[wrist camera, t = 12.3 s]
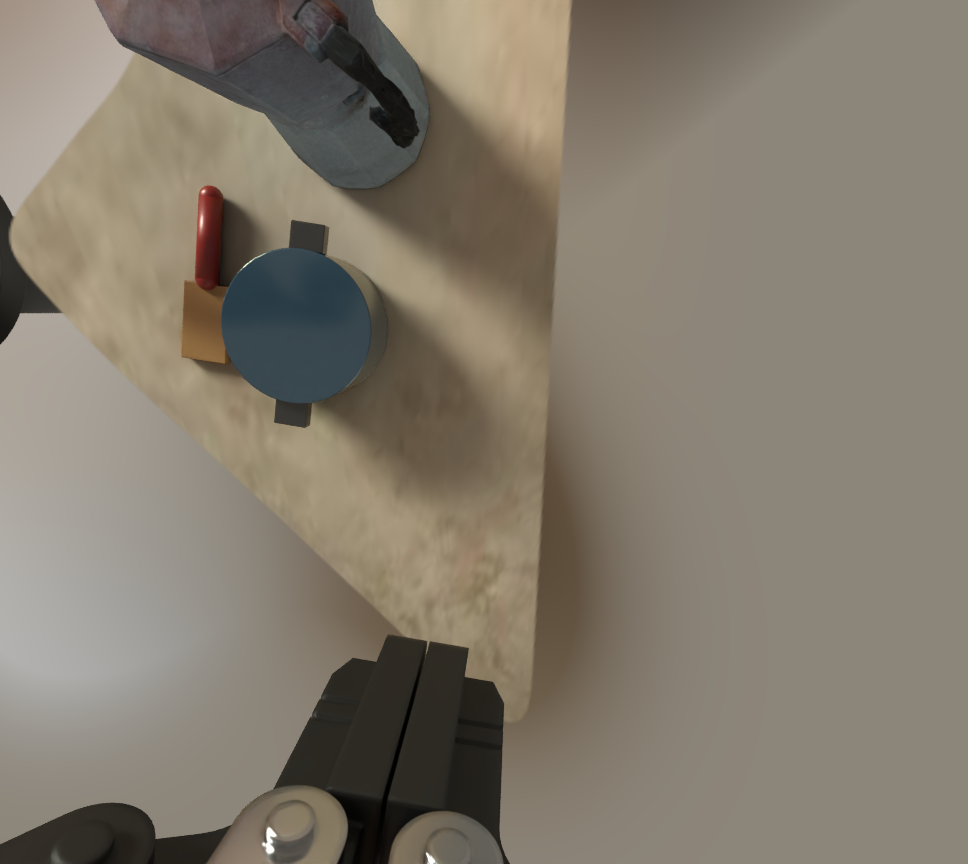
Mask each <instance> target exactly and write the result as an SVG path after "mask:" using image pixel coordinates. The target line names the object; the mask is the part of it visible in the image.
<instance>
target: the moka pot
mask: <svg viewBox="0 0 968 864" xmlns="http://www.w3.org/2000/svg"><path fill="white" fill-rule="evenodd" d="M95 2H96V4H97V6H98V8H99V10H100V12H101V14H102V16H103V18H104V20H105V21H106V23H107V26H108V27H109V29H110V31H111V32H112V34H113V35H114V37H115V38H116V39H117V41H118V42H119V43H120V44H121V45H122V46H123V47H126V48H128V49H130V50H132V51H134V52H136V53H138V54H140V55H142V56H144V57H146V58H148V59H150V60H152V61H154V62H156V63H158V64H160V65H162V66H164V67H166V68H167V69H169V70H171V71H173V72H175V73H177V74H179V75H181V76H183V77H185V78H187V79H190V80H192V81H194V82H196V83H198V84H200V85H201V86H203V87H205V88H207V89H209V90H211V91H213V92H215V93H217V94H219V95H221V96H223V97H225V98H227V99H229V100H231V101H233V102H236V103H238V104H240V105H243V106H245V107H248V108H250V109H253V110H256V111H258V112H261V113H264V114H265V115H266V116H267V117H268V119H269V120H270V121H271V123H272V124H273V125H274V127H275V128H276V129H277V131H278V132H279V133H280V134H281V136H282V137H283V138H284V140H285V141H286V142H287V144H288V145H289V146H290V147H291V149H292V150H293V152H294V153H295V154H296V155H297V156H298V158H299V159H301V160H302V161H303V162H304V163H305V164H306V165H307V166H309V167H310V168H311V169H312V170H313V171H315V172H316V173H317V174H319V175H320V176H321V177H322V178H323V179H324V180H326V181H327V182H328V183H330V184H331V185H332V186H337V187H344V188H352V189H362V188H377V187H379V186H381V185H383V184H385V183H387V182H389V181H390V180H392V179H393V178H395V177H396V176H398V175H399V174H400V173H402V172H403V171H404V170H406V169H407V168H408V167H409V166H411V165H413V164H414V163H415V161H416V160H417V157H418V155H419V152H420V150H421V148H422V144H423V142H424V139H425V135H426V132H427V128H428V122H429V117H430V108H429V103H428V99H427V95H426V91H425V88H424V84H423V81H422V77H421V74H420V70H419V67H418V65H417V63H416V62H415V61H414V59H413V58H412V57H411V56H410V55H409V53H408V52H407V51H406V50H405V48H404V47H403V46H402V45H401V44H400V42H399V41H398V40H397V39H396V37H395V36H394V35H393V34H392V32H391V31H390V30H389V29H388V28H387V27H386V26H385V24H384V23H383V22H382V21H381V20H380V18H379V17H378V16H377V15H376V12H375V9H374V5H373V1H372V0H95Z"/></svg>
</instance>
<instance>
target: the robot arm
mask: <svg viewBox="0 0 968 864" xmlns="http://www.w3.org/2000/svg"><path fill="white" fill-rule="evenodd" d="M426 650H427V641H424V640H418V639H412V638H407V637H401V636H395V635H388V636H387V638H386V640H385V642H384V645H383V648H382V650H381V652H380V655H379V657H378V660H377V662H373V661H368V660H361V659H356V658H352V659H351V660H350V661H349V662H347V663H346V664H345V665H343V666H342V667H341V668H340V669H338V670H337V671H336V672H334V673H333V674H332V676H331V678H330V680H329V682H328V684H327V686H326V688H325V689H324V692H323V693H322V696H321V699H320V700H319V701H318V703H317V705H316V707H315V709H314V711H313V714H312V717H310V719H309V721H308V723H307V725H306V727H305V729H304V730H303V732H302V734H301V737H300V738H299V740H298V742H297V744H296V746H295V748H294V750H293V752H292V754H291V756H290V758H289V760H288V762H287V764H286V766H285V768H284V769H283V772H282V774H281V775H280V777H279V779H278V781H277V783H276V785H275V787H274V789H273V790H271V791H269V792H266V793H264V794H262V795H260V796H259V797H257V798H256V799H254V800H253V801H252V802H250V803H249V804H248V805H247V806H246V807H245V808H244V809H243V810H242V811H241V812H240V814H239V815H238V816H237V818H236V819H235V820H234V822H233V824H232V825H230V826H228V827H225V828H223V829H219V830H216V831H213V832H208V833H202V834H195V835H186V836H178V837H170V838H161V839H155V829H154V825H153V823H152V820H151V819H150V818H149V817H148V815H147V814H146V813H144V812H143V811H142V810H140V809H138V808H136V807H134V806H131V805H127V804H123V803H101V804H96V805H91V806H87V807H83V808H80V809H77V810H74V811H72V812H70V813H67V814H65V815H63V816H61V817H58V818H56V819H54V820H52V821H50V822H48V823H45V824H43V825H41V826H39V827H37V828H35V829H32V830H30V831H28V832H26V833H24V834H22V835H20V836H18V837H15V838H13V839H11V840H9V841H7V842H4V843H3V844H0V864H510V863H509V862H508V860H507V858H506V856H505V854H504V851H503V848H502V845H501V840H500V832H499V823H500V798H501V797H500V795H501V770H502V743H503V717H504V702H503V700H502V699H501V697H500V695H499V693H498V691H497V689H496V687H495V685H494V683H493V682H490V681H484V680H478V679H473V678H467V677H465V670H466V663H467V656H468V650H469V648H466V647H460V646H454V645H448V644H442V643H437V642H431V641H430V643H429V647H428V651H427V654H426ZM425 657H426V658H425Z"/></svg>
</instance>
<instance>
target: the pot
mask: <svg viewBox="0 0 968 864" xmlns="http://www.w3.org/2000/svg"><path fill="white" fill-rule="evenodd" d="M328 234H329V227H327V226H325V225H320V224H314V223H308V222H302V221H295V220H292V221H291V230H290V242H289V248H282V249H276V250H272V251H269V252H266V253H263V254H261V255H259V256H258V257H256V258H254V259H253V260H251V261H250V262H248V263H247V264H246V265H245V266H244V267H243V268H242V269H241V270H240V271H239V272H238V273H237V274H236V276H235V277H234V278H233V280H232V282H231V283H230V285H229V287H228V289H227V292H226V294H225V297H224V301H223V305H222V312H221V330H222V337H223V340H224V344H225V347H226V350H227V353H228V355H229V357H230V359H231V361H232V363H233V364H234V366H235V367H236V369H237V370H238V372H239V373H240V374H241V375H242V376H243V377H244V378H245V380H246V381H248V382H249V383H250V384H251V385H252V386H253V387H255V388H256V389H257V390H259V391H260V392H262V393H264V394H266V395H268V396H269V397H272V398H274V399H276V407H275V419H274V422H275V423H279V424H285V425H291V426H297V427H303V428H306V427H308V426H310V419H311V409H312V403H314V402H319V401H322V400H326V399H328V398H330V397H332V396H335V395H337V394H339V393H341V392H343V391H345V390H348V389H350V388H352V387H354V386H356V385H357V384H359V383H361V382H362V381H363V380H364V379H366V378H367V377H368V376H369V375H370V374H371V373H372V372H373V370H374V369H375V368H376V366H377V365H378V363H379V362H380V360H381V357H382V355H383V353H384V350H385V347H386V342H387V337H388V321H387V315H386V310H385V307H384V304H383V301H382V299H381V297H380V294H379V292H378V291H377V289H376V288H375V286H374V285H373V283H372V282H371V281H370V280H369V279H368V277H367V276H366V275H364V274H363V273H362V272H361V271H360V270H359V269H357V268H356V267H354V266H353V265H351V264H349V263H347V262H346V261H343V260H341V259H338V258H335V257H332V256H328V255H326V254H327V244H328Z"/></svg>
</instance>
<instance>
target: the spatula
mask: <svg viewBox="0 0 968 864" xmlns="http://www.w3.org/2000/svg"><path fill="white" fill-rule="evenodd" d="M222 216H223V195H222V193H221V191H220V190H219V189H217V188H216V187H214V186H205V187H203V188H202V189H201V190H200V192H199V201H198V222H197V244H196V266H195V281H196V282H194V281H186V280H185V283H184V306H183V330H182V353H181V357H185V358H191V359H197V360H203V361H209V362H216V363H222V364H227V363H230V357H229V355H228V353H227V350H226V347H225V344H224V340H223V337H222V330H221V312H222V305H223V301H224V297H225V294H226V292H227V289H228V287H226V286H220V285H218V283H219V271H220V253H221V234H222Z"/></svg>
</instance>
